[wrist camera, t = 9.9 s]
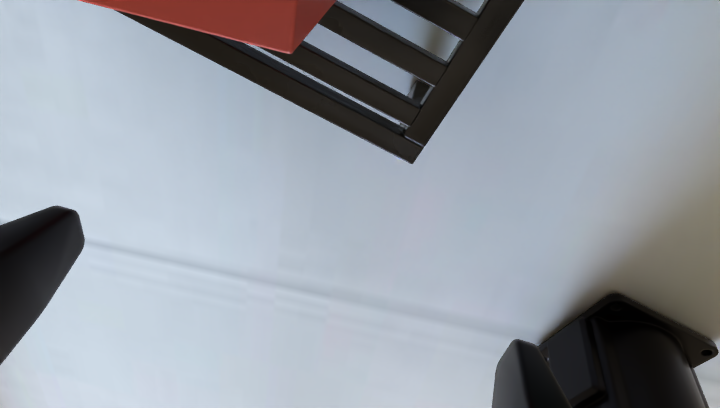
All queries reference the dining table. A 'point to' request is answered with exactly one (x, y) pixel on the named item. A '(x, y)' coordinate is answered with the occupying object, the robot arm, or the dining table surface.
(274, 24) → the block
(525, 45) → the dining table surface
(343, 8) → the rack
